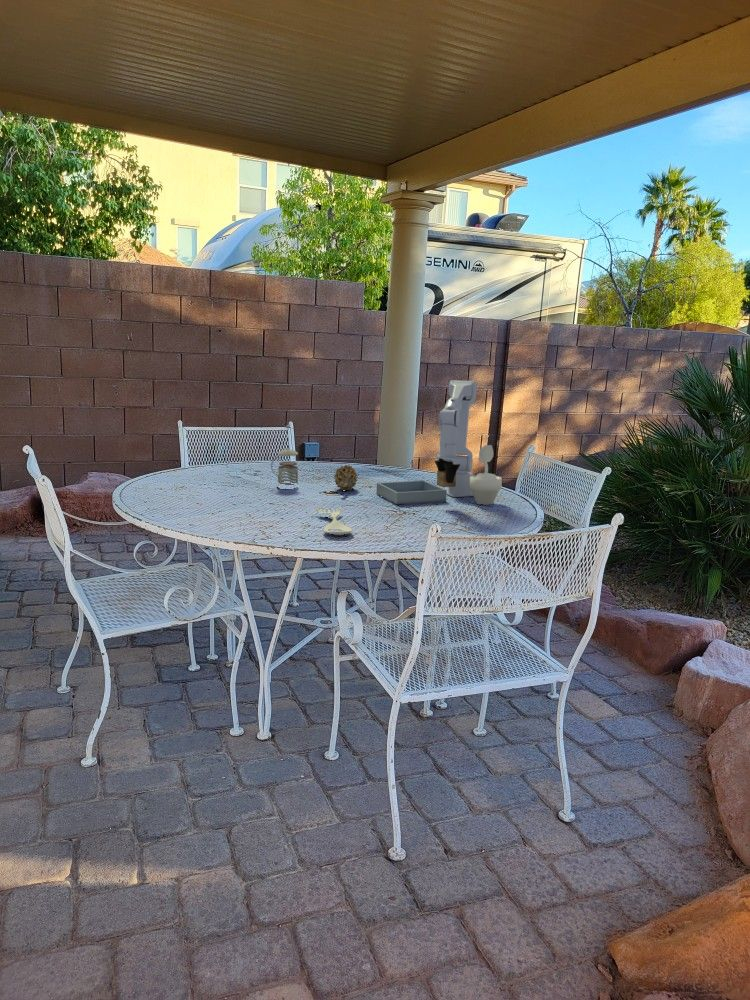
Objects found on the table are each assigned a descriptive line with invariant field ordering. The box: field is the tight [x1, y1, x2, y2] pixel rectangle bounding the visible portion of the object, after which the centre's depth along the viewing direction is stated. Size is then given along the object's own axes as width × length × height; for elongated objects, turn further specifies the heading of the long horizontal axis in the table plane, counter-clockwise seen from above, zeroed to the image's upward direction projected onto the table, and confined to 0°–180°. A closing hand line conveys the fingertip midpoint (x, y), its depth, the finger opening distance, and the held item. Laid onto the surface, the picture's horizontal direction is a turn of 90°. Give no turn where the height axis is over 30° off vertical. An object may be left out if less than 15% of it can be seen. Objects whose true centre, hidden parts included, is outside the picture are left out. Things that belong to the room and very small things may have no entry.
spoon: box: [315, 506, 354, 536], centre depth 233 cm, size 9×32×4 cm, turn 10°
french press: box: [270, 424, 299, 485], centre depth 290 cm, size 10×12×25 cm
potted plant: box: [470, 441, 504, 506], centre depth 268 cm, size 13×12×25 cm
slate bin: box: [376, 480, 448, 505], centre depth 277 cm, size 20×20×4 cm
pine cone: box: [333, 464, 358, 491], centre depth 285 cm, size 22×10×10 cm, turn 1°
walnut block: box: [436, 470, 456, 488], centre depth 261 cm, size 5×5×5 cm
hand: (446, 481), depth 261 cm, fingers closed on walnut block, 5 cm apart
